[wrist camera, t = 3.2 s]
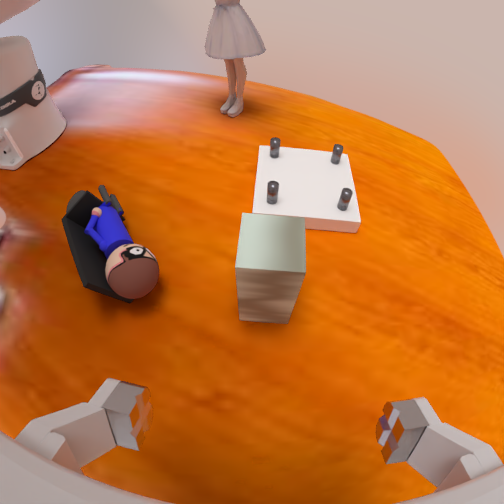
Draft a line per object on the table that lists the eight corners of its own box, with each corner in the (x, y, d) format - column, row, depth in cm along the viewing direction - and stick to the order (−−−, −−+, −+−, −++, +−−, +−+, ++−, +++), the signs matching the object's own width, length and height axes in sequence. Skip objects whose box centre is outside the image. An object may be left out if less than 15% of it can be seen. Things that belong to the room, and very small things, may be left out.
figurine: (170, 102, 49) (152, -45, 24) (202, 85, 53) (193, -50, 28) (281, 148, 41) (297, -61, 16) (311, 125, 45) (333, -52, 19)
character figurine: (123, 207, 35) (174, 298, 29) (74, 231, 33) (112, 332, 26) (108, 159, 29) (160, 255, 23) (51, 187, 26) (80, 297, 20)
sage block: (239, 320, 27) (235, 267, 19) (244, 277, 30) (242, 212, 21) (287, 323, 27) (305, 272, 19) (289, 281, 30) (304, 217, 21)
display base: (252, 224, 33) (252, 196, 30) (259, 156, 40) (260, 130, 36) (355, 233, 33) (367, 207, 29) (344, 165, 39) (351, 140, 36)
